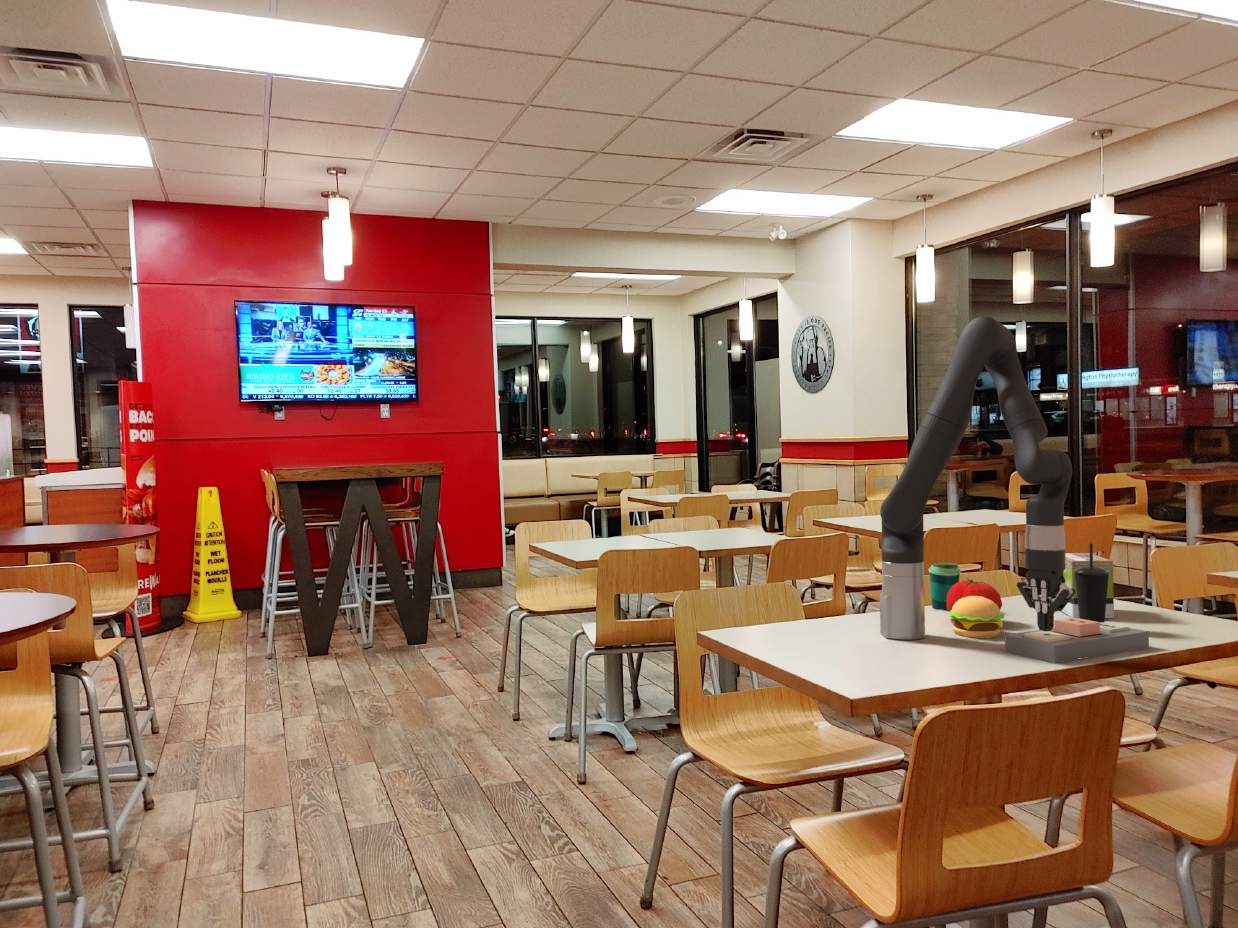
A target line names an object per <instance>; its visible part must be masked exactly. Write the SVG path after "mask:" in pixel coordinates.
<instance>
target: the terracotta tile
mask: <svg viewBox="0 0 1238 928" xmlns="http://www.w3.org/2000/svg"><path fill="white" fill-rule="evenodd" d="M1054 628H1055V632H1060V633H1064V634H1069V635H1074V636H1079V637H1081V636H1088V635H1094V634H1100V622H1096V621H1090V620H1085V619H1080V618H1072V617H1070V618H1069V617H1068V618H1062V619H1061V618H1060V619H1054Z"/></svg>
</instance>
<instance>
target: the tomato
mask: <svg viewBox="0 0 1238 928" xmlns="http://www.w3.org/2000/svg"><path fill="white" fill-rule="evenodd" d="M968 596H981V597H984V598H987V599H989V600H992V601H993V602H994V603H995V604H997V606H998V608H999V609H1000V610H1001V609H1002V606H1003V601H1002V598H1001V594H1000V593H999V592H998V591H997V589H996V588H995V587H994V586H992V585H990V583H987V582H983V581H974V580H973V579H970V578H968V577H966V580H959V582H958V583H956V584H954V585H953V586H952V587H951V589H950V590H949V592H948V594H947V609H948V610H947V611H948V612H947V613H949V612H950V611H951V610H952V607H953V606H954V604H955V603H956V602H957V601H958V600H960V599H962V598H965V597H968Z"/></svg>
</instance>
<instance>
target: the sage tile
mask: <svg viewBox="0 0 1238 928" xmlns="http://www.w3.org/2000/svg"><path fill="white" fill-rule="evenodd" d="M1129 628H1130V627H1129V626H1127V625H1126V626H1125V625H1120V624H1115V623H1110V622H1106V621H1105V622H1101V623H1100V631H1101V632H1106V633H1116V632H1123V631H1129Z"/></svg>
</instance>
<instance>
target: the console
mask: <svg viewBox="0 0 1238 928" xmlns="http://www.w3.org/2000/svg"><path fill="white" fill-rule="evenodd" d="M1100 623H1101V622H1100ZM1038 631H1041V630H1039V629H1037V630H1030V631H1022V632H1013V633H1008V634H1004V635H1005V652H1007V653H1011V654H1015V655H1019V656H1024V657H1027V658H1031V659H1035V660H1038V661H1039V660H1040V661H1044V662H1048V663H1052V664H1059V663H1064V662H1070V661H1069V660H1072V661H1076V660H1075V659H1078V658H1084V659H1086V658H1085V657H1090V658H1094V657H1093V656H1096V657H1100V656H1099V655H1102V656H1109V655H1114V654H1120V652H1121V653H1125V652H1126V653H1127V652H1131V651H1132V652H1133V651H1137V650H1145V649H1149V648H1150V633H1149V630H1142V629H1137V628H1133V627H1129V631H1123V632H1116V633H1106V632H1101V631H1100V634H1094V635H1088V636H1081V637H1079V636H1074V635H1069V634H1064V633H1060V632H1055V627H1053V629H1052V631H1050V632H1054V633H1059V634H1064V635H1069V636H1070V639H1069V640H1062V641H1055V642H1045V641H1040V640H1036V639H1031V638H1026V637H1024V633H1030V632H1038ZM1078 660H1079V659H1078Z"/></svg>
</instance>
